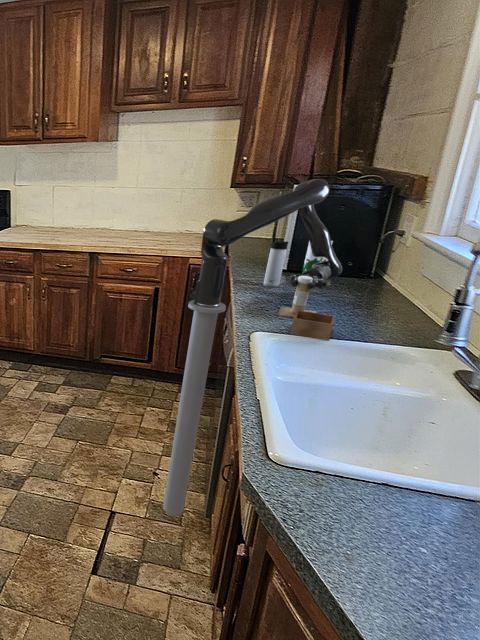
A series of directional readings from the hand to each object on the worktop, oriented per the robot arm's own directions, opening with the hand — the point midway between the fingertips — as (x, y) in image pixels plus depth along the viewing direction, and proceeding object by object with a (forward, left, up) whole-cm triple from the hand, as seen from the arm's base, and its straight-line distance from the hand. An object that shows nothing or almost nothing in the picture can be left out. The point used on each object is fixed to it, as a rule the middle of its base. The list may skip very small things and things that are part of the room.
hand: (302, 285), depth 189 cm
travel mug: (-14, +43, -12) cm, 46 cm away
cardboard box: (+6, -18, -11) cm, 23 cm away
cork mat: (0, +3, -11) cm, 12 cm away
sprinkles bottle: (0, +3, -11) cm, 12 cm away
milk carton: (0, +68, -12) cm, 69 cm away
